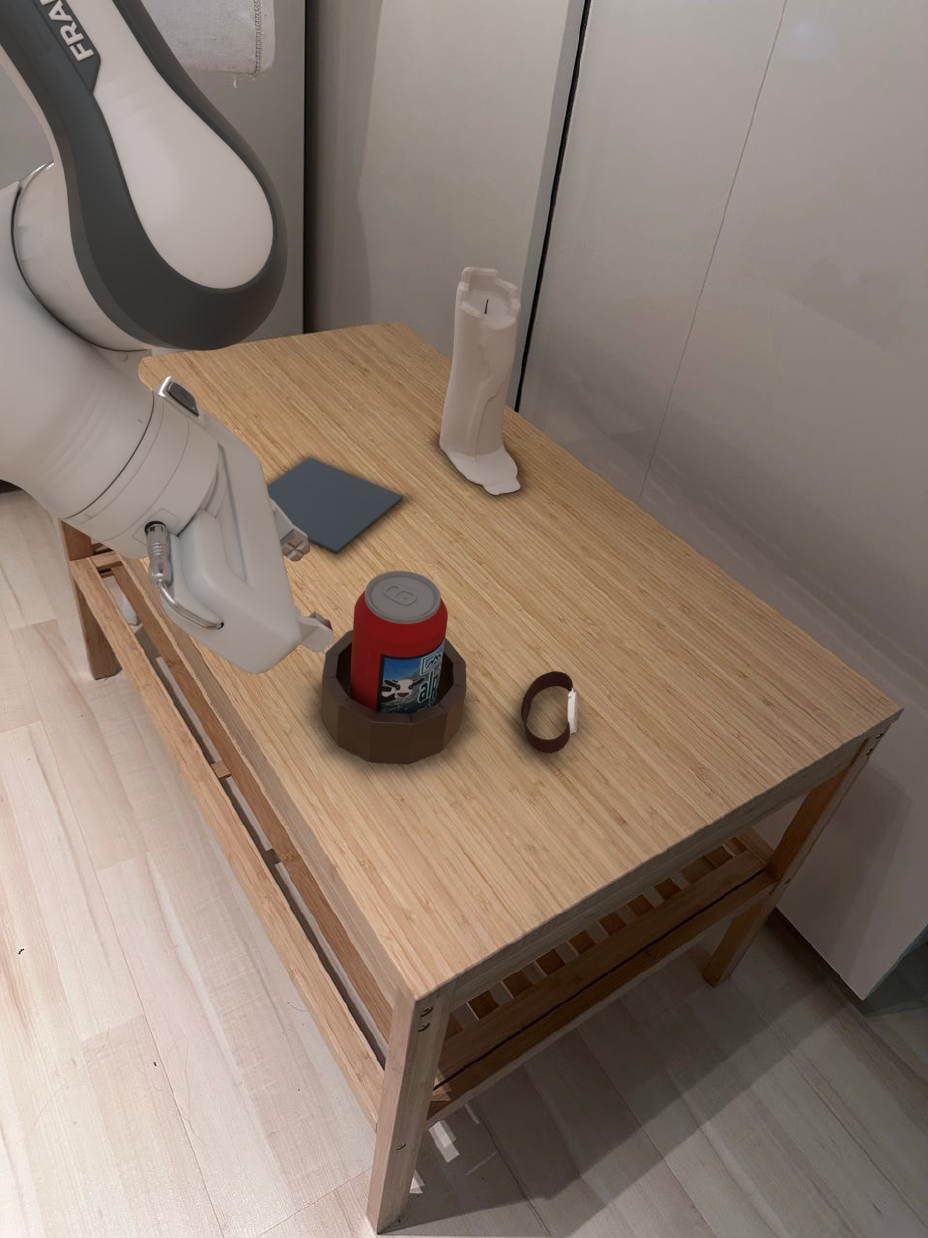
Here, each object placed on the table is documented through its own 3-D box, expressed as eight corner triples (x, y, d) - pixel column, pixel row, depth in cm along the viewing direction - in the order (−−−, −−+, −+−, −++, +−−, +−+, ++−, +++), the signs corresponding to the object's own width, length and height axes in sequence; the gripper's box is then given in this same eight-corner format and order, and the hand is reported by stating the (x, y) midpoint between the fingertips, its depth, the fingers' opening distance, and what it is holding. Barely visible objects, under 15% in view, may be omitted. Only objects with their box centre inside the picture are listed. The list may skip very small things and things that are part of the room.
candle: (478, 498, 93) (507, 316, 80) (429, 434, 102) (448, 261, 89) (537, 489, 95) (574, 312, 82) (484, 428, 105) (510, 259, 92)
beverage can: (402, 756, 65) (415, 640, 57) (331, 714, 67) (334, 597, 59) (450, 704, 70) (468, 590, 62) (382, 667, 72) (392, 552, 64)
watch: (572, 765, 66) (582, 734, 64) (512, 752, 67) (520, 721, 64) (579, 695, 72) (588, 664, 70) (524, 683, 72) (531, 652, 70)
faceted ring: (294, 722, 66) (294, 681, 63) (371, 644, 74) (374, 604, 71) (414, 786, 63) (420, 746, 60) (482, 697, 71) (490, 658, 68)
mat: (237, 509, 86) (237, 505, 86) (309, 460, 94) (309, 456, 94) (337, 554, 83) (337, 550, 82) (402, 499, 91) (403, 495, 91)
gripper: (195, 557, 42) (381, 672, 51) (172, 363, 56) (321, 481, 65) (111, 634, 43) (306, 732, 53) (109, 426, 58) (263, 533, 67)
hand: (314, 592), depth 59 cm, fingers open, 8 cm apart
